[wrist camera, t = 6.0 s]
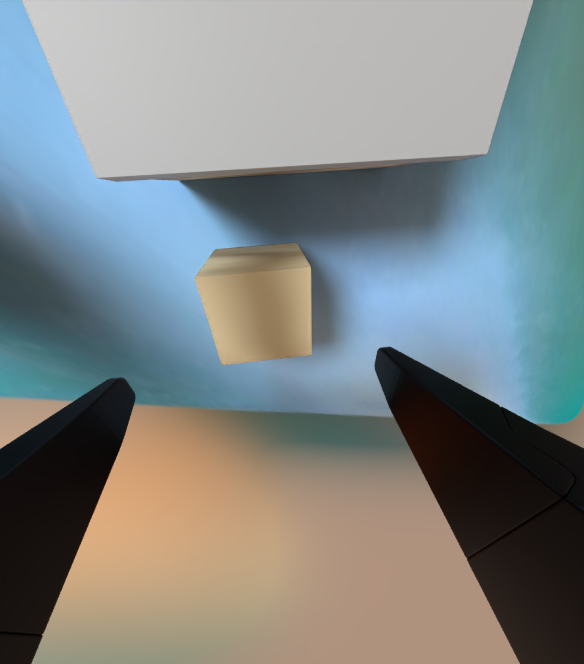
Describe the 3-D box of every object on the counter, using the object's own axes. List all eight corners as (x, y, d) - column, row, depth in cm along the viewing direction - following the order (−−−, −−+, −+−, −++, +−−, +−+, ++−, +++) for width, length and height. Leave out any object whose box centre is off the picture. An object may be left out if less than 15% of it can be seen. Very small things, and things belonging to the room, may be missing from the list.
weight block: (232, 319, 16) (222, 365, 12) (215, 248, 13) (194, 277, 9) (299, 312, 17) (311, 354, 12) (296, 242, 14) (310, 267, 10)
